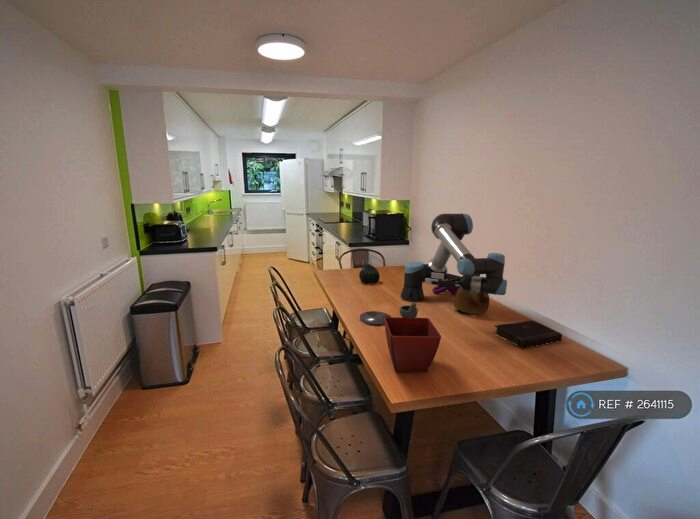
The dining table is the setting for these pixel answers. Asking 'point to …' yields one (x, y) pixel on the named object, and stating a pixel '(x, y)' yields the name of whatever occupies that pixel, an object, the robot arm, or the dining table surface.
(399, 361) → the plant pot
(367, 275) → the squash
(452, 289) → the mounting bracket
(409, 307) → the mortar and pestle
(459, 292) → the ceramic pitcher
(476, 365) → the dining table surface
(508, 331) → the diary
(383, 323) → the disc
